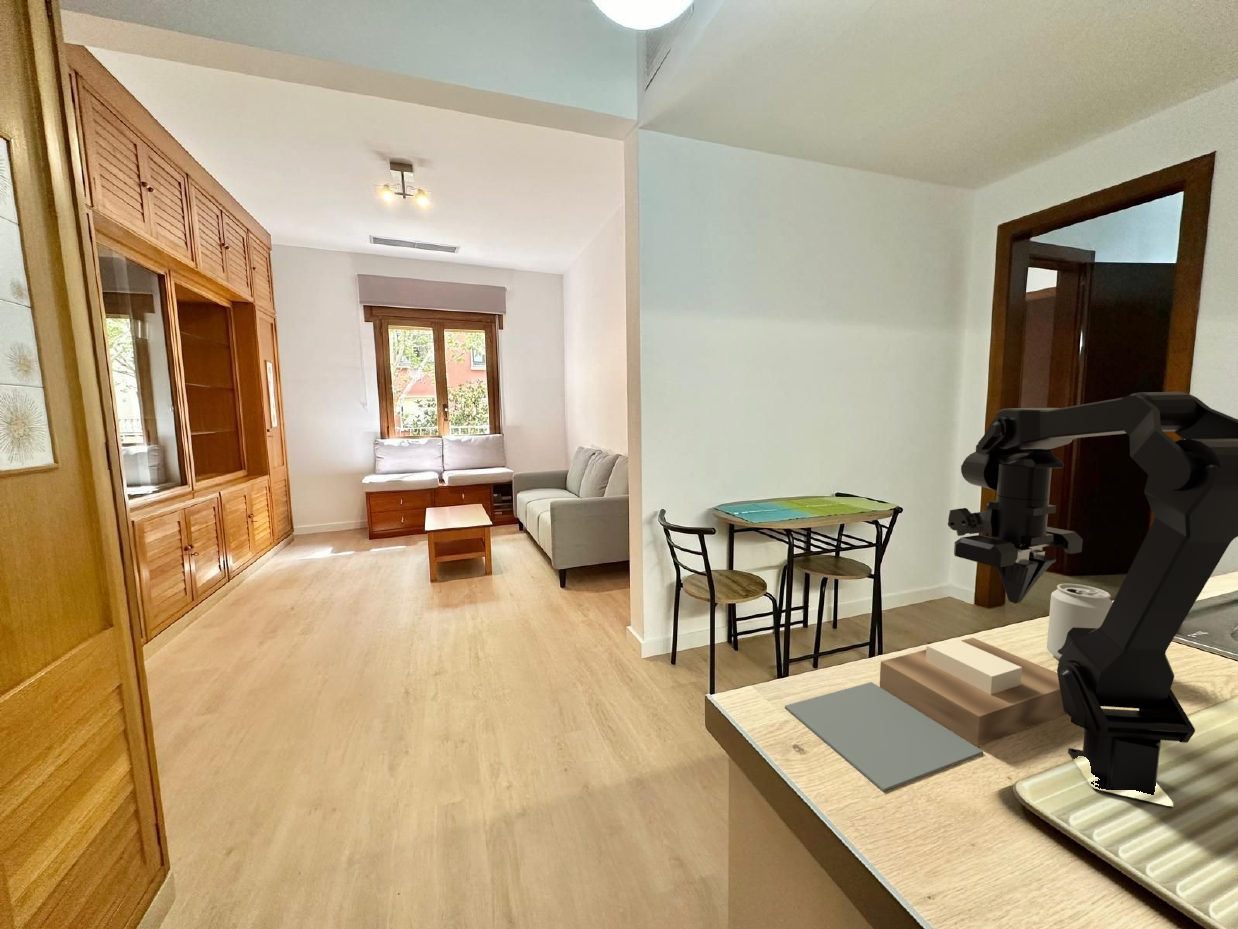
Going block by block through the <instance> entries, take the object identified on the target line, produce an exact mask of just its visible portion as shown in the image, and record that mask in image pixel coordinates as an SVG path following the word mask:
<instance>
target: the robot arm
mask: <svg viewBox="0 0 1238 929" xmlns="http://www.w3.org/2000/svg"><path fill="white" fill-rule="evenodd" d="M1166 432H1168V433H1169V432H1174V433H1175V434H1176V435H1177V436H1178V437H1180V438H1182V439H1178V440H1175V441H1174V440H1173V439H1172V438H1171V437H1170V436H1169V435H1168V434H1166ZM1123 434H1127V435H1128V437H1129V456H1130V457H1131V459H1132V460H1133V461H1134V462H1135V463H1136V464H1137V465H1138V466H1139V467H1140V468H1141V469H1142V470H1143V471H1144V472H1145V473H1146V475H1148V476H1147V480H1146V483H1145V486H1144V495H1145V498H1146V499H1147V502H1148V505H1149V508H1150V509H1151V512H1152V515H1153V520H1152V523H1151V525H1150V528H1149V529H1148V531H1147V533H1146V535H1145V538H1144V539H1143V541H1142V544H1141V546H1140V547H1139V550H1138V552H1137V553H1136V555H1135V557H1134V560H1133V562H1132V563H1131V565H1130V568H1129V569H1128V571H1127V574H1126V575H1125V577H1124V580H1123V582H1122V583H1121V586H1120V587H1119V589H1118V592H1117V594H1116V595H1115V598H1114V600H1113V601H1112V602H1113V603H1112V605H1111V607H1110V609H1109V611H1108V613H1107V615H1106V617H1105V619H1104V621H1103V623H1102V625H1101V626H1100V627H1099V628H1079V627H1073V628H1072V629H1071V630H1070V631H1069V632H1068V633H1067V637H1066V641H1065V644H1064V645H1063V647H1062V648H1061V649H1059V650H1058V653H1059V654H1061V655H1062V656H1061V657H1060V659H1059V660H1058V663H1057V669H1056V673H1057V674H1058V680H1059V686H1060V691H1061V697H1062V703H1063V708H1064V711H1065V712H1066V713H1067V714H1066V715H1068V716H1069V717H1070V722H1071V723H1072V724H1073V725H1074V726H1076V727H1079V728H1082V729H1084V731H1083V732H1084V734H1083V741H1082V742H1083V743H1082V749H1079V748H1078V749H1076V748H1072V747H1069V748H1067V754H1068V755H1069V757H1070V758H1071V759H1072V760H1073V759H1075V758H1077V757H1078V756H1084V757H1086V758H1087V759H1088V760H1089V762H1090V766H1091V773H1092V774H1093V775H1095V777H1098V778H1099V779H1100V780H1099V779H1098V781H1095V783H1097V784H1099V786H1098V785H1095V787H1098V788H1099V789H1100V788H1101V789H1106V790H1136V791H1139V792H1140V791H1141V792H1143V793H1147V794H1151V795H1154V792H1155V786H1156V782H1157V779H1158V769H1159V762H1160V752H1161V745H1162V744H1161V743H1162V741H1166V742H1168V741H1169V742H1178V743H1183V744H1185V743H1186V744H1187V743H1189V741H1190V740H1191V738H1192V737H1193V736H1194V735H1195V733H1196V729H1195V727H1194V725H1193V723H1192V722H1191V720H1190V718H1189V716H1188V715H1187V713H1186V712H1185V710H1184V708H1183V707H1182V705H1181V703H1180V702H1179V700H1178V698H1177V697H1176V695H1175V693H1174V691H1172V685H1173V683H1174V680H1175V673H1174V671H1173V669H1172V666H1171V664H1170V661H1169V659H1168V657H1167V654H1166V652H1167V650H1168V649H1169V646H1170V645H1171V643H1172V641H1173V640H1174V638H1175V636H1176V635H1177V633H1178V632H1179V630H1180V629H1181V626H1182V625H1183V623H1184V622H1185V620H1186V618H1187V616H1189V615H1188V614H1189V613H1190V612H1191V611H1192V610H1191V609H1193V608H1192V607H1193V606H1194V605H1195V603H1196V602H1197V599H1198V598H1199V596H1200V595H1201V593H1202V591H1203V589H1204V588H1205V586H1206V584H1207V583H1208V582H1209V579H1210V577H1211V576H1212V575H1213V572H1215V569H1216V568H1217V566H1218V564H1219V563H1220V561H1221V559H1222V558H1223V556H1224V554H1225V553H1226V551H1227V549H1228V547H1229V546H1230V544H1231V543H1232V542H1233V540H1235V539H1236V538H1238V418H1235V417H1233V416H1231V415H1228V414H1225V413H1223V412H1221V411H1218V410H1216V409H1213V408H1211V407H1210V406H1208V405H1207V404H1206V403H1204V401H1202V400H1201V399H1199V398H1198V397H1196V396H1194V395H1193V394H1189V393H1186V392H1183V391H1166V392H1165V391H1164V392H1163V391H1161V392H1160V391H1158V392H1157V391H1156V392H1155V391H1154V392H1135V393H1131V394H1129V395H1126V396H1123V397H1118V398H1113V399H1107V400H1101V401H1095V402H1088V403H1085V404H1084V403H1083V404H1078V405H1071V406H1067V407H1061V408H1060V407H1027V408H1025V407H1024V408H1022V407H1021V408H1019V407H1018V408H1017V407H1015V408H1014V407H1012V408H1009V407H1008V408H1002V409H1001V410H999V411H998V412H997V413H996V417H994V418H993V419H992V420H991V421H990V424H989V426H988V428H987V429H986V431H985V433H984V435H983V436H982V437H981V438H980V440H979V441H978V442H977V444H976V445H975V451H974V452H972V453H970V454H969V455H968V456H966V457H965V459H964V460H963V461H962V464H961V465H960V466H961V467H960V473H961V475H962V478H963V479H964V481H966V482H967V483H969V484H970V485H974V486H978V487H980V488H986V489H989V490H993V491H996V500H992V501H991V500H990V501H988V503H986V510H985V511H978V512H973V513H972V512H971V511H970V510H969V509H968V508H967V507H963V508H955V509H951V510H949V514H948V518H947V519H948V522H947V526H948V527H949V528H950V529H951V530H952V531H956V535H957V537H959V536H960V538H958V539H957V540H956V541H955V542H954V545H953V547H954V548H953V554H954V557H958V558H960V559H965V560H969V561H971V562H976V563H980V564H983V565H987V566H990V567H993V568H996V569H997V571H998V574H999V576H1000V579H1001V583H1002V585H1003V588H1004V591H1005V594H1006V597H1007V601H1008V602H1010V603H1012V604H1021V602H1022V601H1023V599H1024V598H1026V596H1027V594H1028V593H1030V591H1031V589H1032V588H1033V587H1034V586H1035V584H1036V583H1037V582H1038V580H1039V579H1040V578H1041V577H1042V576H1043V575H1044V573H1045V572H1046V571H1047V570H1048V569H1049V567H1051V565H1052V564H1054V563H1055V562H1057V558H1056V557H1053V556H1052V557H1051V556H1049V555H1045V554H1046V551H1045V550H1044V549H1043V548H1046V547H1056V548H1058V549H1063V550H1064V553H1066V554H1070V555H1073V554H1077V553H1082V551H1083V541H1084V539H1083V538H1082V537H1081V536H1080V535H1079V533H1077V532H1076V531H1074V530H1067V529H1062V528H1061V529H1060V528H1056V527H1052V526H1051V527H1050V526H1048V517H1049V514H1056V512H1057V505H1055V504H1054V505H1053V504H1050V492H1051V481H1052V480H1051V479H1052V478H1051V477H1052V470H1053V469H1062V468H1064V466H1065V464H1064V462H1063V461H1062V460H1061V459H1060V458H1058V457H1057V456H1056V455H1055V454H1054V453H1053V451H1052V450H1051V449H1055V448H1056V449H1057V448H1059V447H1062V446H1066V445H1069V444H1070V443H1072V441H1073V440H1075V439H1080V438H1088V437H1100V436H1111V435H1123ZM966 534H967V536H966ZM968 534H969V536H968ZM973 534H974V535H973ZM975 534H976V535H975ZM979 534H982V535H979ZM961 536H962V537H961ZM1102 707H1103V708H1102ZM1104 707H1105V708H1104ZM1117 708H1118V709H1117ZM1122 708H1123V709H1122ZM1134 709H1137V710H1134ZM1093 782H1094V781H1093ZM1093 782H1091V784H1093V785H1094V783H1093Z"/></svg>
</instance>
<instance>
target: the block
mask: <svg viewBox="0 0 1238 929" xmlns="http://www.w3.org/2000/svg"><path fill="white" fill-rule="evenodd" d="M961 641H962V642H965V643H967V644H969V645H971V646H974V647H976V648H978V649H981V650H983V651H985V652H988V653H990V654H992V655H994V656H997V657H999V658H1001V659H1004V660H1006V661H1008V662H1011V663H1013V664H1015V665H1017V666H1020V667H1022V673H1021V685H1019V686H1016V687H1013V688H1010V689H1007V690H1004V691H1000V692H997V693H994V694H991V695H990V694H988V693H986V692H984V691H982V690H981V689H979V688H977V687H975V686H973V685H971V684H969V683H967V682H965V681H963V680H961V679H959V678H957V677H955V676H953V675H951V674H949V673H947V672H945V671H943V670H941V669H939V668H937V667H935V666H933V665H931V664H929V663H927V662H926V649H923V650H920V651H915V652H911V653H908V654H904V655H903V654H902V655H900V656H896V657H892V658H889V659H885V660H884V659H883V660H881V661H880V667H879V669H880V670H879V687H880V688H882V689H884V690H885V691H887V692H888V693H890V694H892V695H893V696H895V697H897V698H898V699H900V700H901V701H903V702H905V703H906V704H908V705H909V706H911V707H913V708H914V709H916V710H917V711H919V712H921V713H922V714H924V715H926V716H927V717H929V718H930V719H932V720H934V721H935V722H937V723H938V724H940V725H942V726H943V727H945V728H947V729H948V730H950V731H951V732H953V733H955V734H956V735H958V736H959V737H961V738H963V739H964V740H966V741H967V742H969V743H971V744H972V745H974V746H976V747H977V748H979V747H981V746H984V745H987V744H990V743H992V742H995V741H997V740H1000V739H1003V738H1006V737H1009V736H1011V735H1013V734H1016V733H1019V732H1021V731H1025V730H1027V729H1030V728H1033V727H1035V726H1037V725H1041V724H1043V723H1046V722H1049V721H1051V720H1054V719H1056V718H1059V717H1062V716H1065V715H1068V714H1067V713H1066V712H1065V711H1064V708H1063V703H1062V697H1061V691H1060V686H1059V680H1058V674H1057V671H1054V670H1051V669H1049V668H1046V667H1044V666H1041V665H1039V664H1037V663H1035V662H1033V661H1030V660H1028V659H1025V658H1022V657H1020V656H1018V655H1015V654H1013V653H1010V652H1008V651H1006V650H1005V649H1001V648H999V647H996V646H994V645H991V644H989V643H986V642H984V641H982V640H980V639H977V638H975V637H969V638H966V639H963V640H961Z"/></svg>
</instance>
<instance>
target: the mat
mask: <svg viewBox="0 0 1238 929" xmlns="http://www.w3.org/2000/svg"><path fill="white" fill-rule="evenodd" d="M784 709H785V710H786V711H788V712H789V713H790V714H791V715H792V716H794V717H795V718H796V719H797V720H798V721H800V722H801V723H802V724H803V725H804V726H805V727H807V728H808V729H809V730H810V731H811V732H812V733H814V734H815V735H816V736H817V737H818V738H820V739H821V740H822V741H823V743H825V744H826V745H828V746H829V747H830V748H831V749H832V750H834V751H835V752H836V753H837V754H839V756H841V757H842V758H843V759H844V760H845V761H846V762H848V763H849V764H850V765H851V766H853V767H854V768H855V770H857V771H858V772H859V773H860V774H862V775H863V776H864V777H865V778H866V779H868V780H869V781H870V782H871V783H873V785H875V786H876V787H877V788H878V789H879V790H881V791H882V792H886V791H887V790H891V789H894V788H897V787H898V786H901V785H905V784H907V783H909V782H911V781H914V780H917V779H920V778H923V777H925V776H928V775H930V774H933V773H936V772H938V771H940V770H944V769H946V768H948V767H951V766H953V765H956V764H960V763H961V762H965V761H966V760H970V759H972V758H975V757H978V756H980V755H982V754H984V751H983V750H982V749H980V748H979V747H976V746H974V745H973V744H971V743H970V742H968V741H966V740H965V739H963V738H962V737H960V736H958V735H957V734H955V733H953V732H952V731H950V730H949V729H947V728H945V727H944V726H942V725H941V724H939V723H937V722H936V721H934V720H933V719H931V718H929V717H928V716H926V715H924V714H923V713H921V712H920V711H918V710H916V709H915V708H913V707H912V706H910V705H908V704H907V703H905V702H903V701H902V700H900V699H899V698H897V697H895V696H894V695H892V694H891V693H889V692H887V691H886V690H884V689H883V688H881V687H880V685H877V684H875V683H874V682H872V681H869V682H866V683H863V684H862V683H861V684H859V685H855V686H852V687H847V688H845V689H839V690H837V691H834V692H830V693H827V694H826V693H825V694H822V695H819V696H815V697H811V698H808V699H805V700H801V701H796V702H794V703H790V704H785V705H784Z"/></svg>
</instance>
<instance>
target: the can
mask: <svg viewBox="0 0 1238 929" xmlns="http://www.w3.org/2000/svg"><path fill="white" fill-rule="evenodd" d="M1112 603H1113V601H1112V599H1111V594H1110V593H1109V592H1107V591H1105V590H1103V589H1100V588H1097V587H1093V586H1089V585H1084V584H1079V583H1078V584H1077V583H1060V584H1057V586H1056V590H1054V591H1052V592H1051V594H1050V603H1049V613H1048V614H1049V616H1048V626H1047V627H1048V628H1047V640H1046V649H1047V651H1048V653H1050V654H1051V655H1052V656H1053V657H1054V658H1055V659H1056V660H1058V661H1059V659H1060V657H1061V656H1062V655H1061V654H1059V653H1058V650H1059V649H1061V648H1062V647H1063V645H1064V644H1065V641H1066V637H1067V633H1068V632H1069V631H1070V630H1071V629H1072V628H1073V627H1079V628H1099V627H1100V626H1101V625H1102V623H1103V621H1104V619H1105V617H1106V615H1107V613H1108V611H1109V609H1110V607H1111V605H1112Z"/></svg>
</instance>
